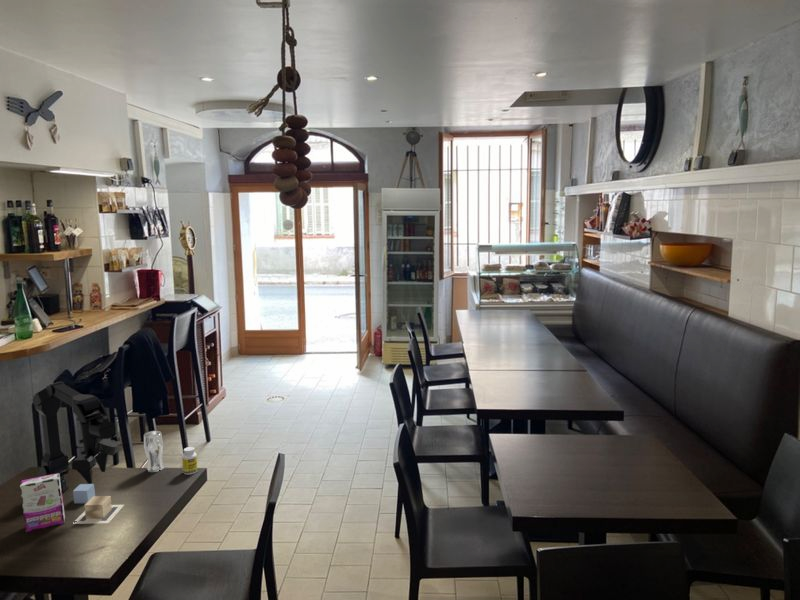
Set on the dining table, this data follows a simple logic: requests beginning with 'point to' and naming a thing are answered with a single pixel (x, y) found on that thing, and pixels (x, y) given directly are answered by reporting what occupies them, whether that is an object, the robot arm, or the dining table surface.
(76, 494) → the blue cube
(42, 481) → the candy bar box
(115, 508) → the letter board
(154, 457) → the beer glass
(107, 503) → the oak block
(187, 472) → the supplement bottle
